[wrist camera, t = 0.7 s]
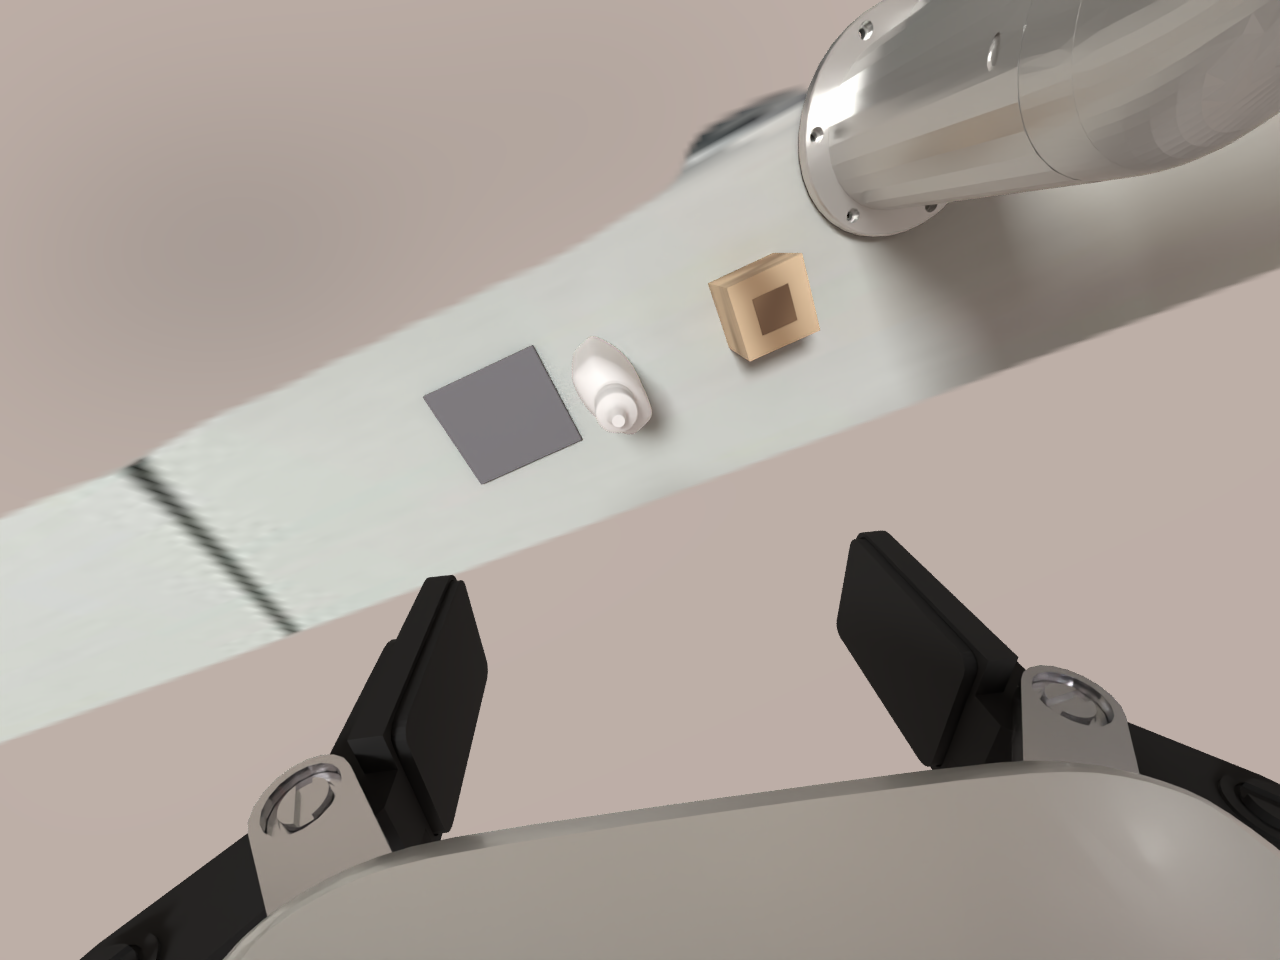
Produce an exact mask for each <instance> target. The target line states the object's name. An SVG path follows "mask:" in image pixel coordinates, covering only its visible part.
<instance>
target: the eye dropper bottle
mask: <svg viewBox="0 0 1280 960" xmlns="http://www.w3.org/2000/svg"><path fill="white" fill-rule="evenodd" d="M572 381H573V384H574V386H575V389H576V391H577V393H578V395H579V397H580V399H581V400H582V402H583V403H584V405H585V406H586V407H587V409H588V410H589V411H590V412H591V413H592V414H593V415H594V416H595V417H596V419H597V421H598V423H599V425H600V426H601V427H602V428H603V429H605V430H607V431H609V432H611V433H612V432H613V433H621V432H622V433H625V434H634V433H636V432H637V431H639V430H640V429H641V428H642V427H643V426H644V425H645V424H646V423H647V422H648V421H649V420H650V418H651V416H652V408H651V405H650V402H649V400H648V397H647V395H646V392H645V390H644V388H643V385H642V383H641V381H640V379H639V377H638V374H637V372H636V371H635V369H634V367H633V366H632V364H631V363H630V361H629V360H628V359H627V358H626V356H625V355H624V354H623V353H622V352H621V351H619V350H618V349H617V348H616V347H614V346H613V345H612V344H610V343H608V342H607V341H605V340H603V339H601V338H598V337H595V336H590V337H588V338H587V339H586V340H585V341H584V342H583V343H582V344H581V345H580V346H579V347H578V348H577V349H576V350H575V352H574V354H573V361H572Z"/></svg>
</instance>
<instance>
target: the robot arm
mask: <svg viewBox="0 0 1280 960" xmlns="http://www.w3.org/2000/svg"><path fill="white" fill-rule="evenodd" d="M859 32H860V33H861V38H860V36H859ZM1279 112H1280V0H883V1H881V2H879V3H878V4H876V5H875V6H873V7H872V8H870V9H869V10H867V11H866V12H864V13H863V14H862V15H861V16H859V17H858V18H857V19H856V20H855V21H854V22H853V23H851V24H850V25H849V26H848V27H847V28H846V29H845V30H844V32H843V33H842V34H841V35H840V36H839V37H838V38H837V39H836V41H835V42H834V43H833V44H832V45H831V47H830V49H829V50H828V51H827V53H826V55H825V56H824V58H823V59H822V61H821V62H820V64H819V66H818V68H817V70H816V72H815V75H814V77H813V79H812V81H811V83H810V86H809V88H808V91H807V95H806V98H805V102H804V105H803V109H802V114H801V121H800V129H799V159H800V164H801V170H802V176H803V179H804V182H805V184H806V187H807V190H808V192H809V195H810V197H811V198H812V200H813V202H814V203H815V205H816V206H817V208H818V210H819V211H820V212H821V213H822V214H823V215H824V216H825V217H826V218H827V219H828V220H829V221H830V222H831V223H833V224H834V225H836V226H837V227H839V228H841V229H842V230H844V231H847V232H850V233H853V234H856V235H859V236H871V237H877V236H890V235H894V234H898V233H902V232H906V231H908V230H910V229H912V228H914V227H916V226H919V225H921V224H923V223H924V222H926V221H927V220H929V219H930V218H932V217H933V216H935V215H936V214H937V213H938V212H939V211H941V210H942V209H943V208H944V207H945V206H946V205H947V204H948V203H949V202H954V201H962V200H969V199H976V198H984V197H991V196H999V195H1006V194H1013V193H1021V192H1028V191H1036V190H1043V189H1050V188H1058V187H1065V186H1073V185H1080V184H1087V183H1095V182H1101V181H1108V180H1115V179H1122V178H1129V177H1135V176H1142V175H1147V174H1151V173H1156V172H1160V171H1164V170H1168V169H1171V168H1174V167H1177V166H1180V165H1184V164H1186V163H1189V162H1192V161H1194V160H1197V159H1199V158H1201V157H1204V156H1206V155H1208V154H1210V153H1212V152H1214V151H1217V150H1219V149H1221V148H1223V147H1225V146H1227V145H1229V144H1231V143H1232V142H1234V141H1236V140H1237V139H1239V138H1241V137H1242V136H1244V135H1246V134H1247V133H1249V132H1251V131H1252V130H1254V129H1255V128H1257V127H1258V126H1260V125H1262V124H1263V123H1265V122H1266V121H1268V120H1269V119H1270V118H1272V117H1273V116H1275V115H1276V114H1278V113H1279ZM810 134H813V136H814V140H813V142H812V141H811V140H810ZM925 205H926V206H925ZM848 213H849V219H848V220H847V214H848ZM837 630H838V633H839V636H840V638H841V639H842V641H843V642H844V644H845V645H846V647H847V648H848V650H849V652H850V653H851V655H852V656H853V658H854V659H855V661H856V662H857V664H858V665H859V667H860V669H861V670H862V672H863V673H864V675H865V676H866V678H867V680H868V681H869V682H870V684H871V686H872V687H873V689H874V690H875V692H876V693H877V695H878V697H879V698H880V699H881V701H882V703H883V704H884V706H885V708H886V709H887V711H888V712H889V714H890V715H891V717H892V718H893V720H894V722H895V723H896V725H897V726H898V728H899V729H900V731H901V732H902V734H903V735H904V737H905V739H906V740H907V742H908V743H909V745H910V746H911V748H912V749H913V751H914V753H915V754H916V756H917V757H918V759H919V760H920V761H921V763H923V764H924V765H925V766H927V767H928V766H930V767H931V768H932V770H927V771H919V772H911V773H904V774H896V775H888V776H881V777H873V778H866V779H859V780H851V781H843V782H835V783H828V784H820V785H812V786H805V787H797V788H790V789H783V790H775V791H769V792H761V793H753V794H746V795H740V796H732V797H725V798H717V799H710V800H703V801H695V802H688V803H682V804H674V805H667V806H659V807H653V808H645V809H639V810H631V811H624V812H618V813H611V814H604V815H597V816H590V817H583V818H576V819H569V820H562V821H555V822H548V823H541V824H534V825H528V826H522V827H516V828H510V829H503V830H497V831H491V832H485V833H479V834H472V835H466V836H461V837H454V838H449V839H445V840H441V836H442V833H447V832H449V831H450V829H451V827H452V824H453V821H454V817H455V812H456V808H457V804H458V800H459V795H460V791H461V787H462V783H463V778H464V774H465V770H466V766H467V761H468V757H469V753H470V749H471V744H472V740H473V736H474V732H475V727H476V723H477V719H478V715H479V710H480V706H481V702H482V698H483V693H484V689H485V685H486V681H487V674H488V668H487V661H486V657H485V653H484V650H483V647H482V643H481V639H480V636H479V632H478V629H477V625H476V622H475V618H474V615H473V611H472V607H471V604H470V600H469V597H468V593H467V590H466V586H465V583H464V582H463V581H462V580H460V581H457V580H456V578H455V576H453V575H448V576H438V577H429V578H427V579H426V580H425V582H424V584H423V586H422V588H421V590H420V592H419V594H418V596H417V598H416V600H415V602H414V604H413V606H412V608H411V610H410V612H409V614H408V616H407V618H406V620H405V622H404V624H403V626H402V628H401V631H400V633H399V635H398V637H397V639H394V640H391V641H390V642H388V643H387V645H386V646H385V648H384V649H383V651H382V653H381V655H380V657H379V659H378V661H377V663H376V665H375V667H374V669H373V671H372V673H371V675H370V677H369V678H368V680H367V682H366V684H365V686H364V688H363V690H362V692H361V695H360V696H359V698H358V700H357V702H356V704H355V706H354V708H353V710H352V712H351V714H350V716H349V718H348V720H347V722H346V724H345V726H344V728H343V729H342V732H341V733H340V735H339V738H338V739H337V741H336V743H335V745H334V747H333V749H332V751H331V753H330V755H320V756H316V757H313V758H310V759H307V760H305V761H303V762H301V763H299V764H297V765H295V766H293V767H292V768H290V769H289V770H287V771H286V772H285V773H284V774H282V775H281V776H280V777H278V778H277V779H276V780H275V781H274V782H273V783H272V784H271V785H270V786H269V787H268V788H267V789H266V790H265V791H264V792H263V794H262V795H261V797H260V798H259V800H258V801H257V803H256V804H255V806H254V807H253V810H252V812H251V815H250V818H249V821H248V834H246V835H245V836H243V837H242V838H241V839H239V840H238V841H237V842H235V843H234V844H233V845H231V846H230V847H228V848H227V849H226V850H224V851H223V852H222V853H220V854H219V855H218V856H216V857H215V858H214V859H212V860H211V861H210V862H208V863H207V864H206V865H204V866H203V867H202V868H200V869H199V870H197V871H196V872H195V873H194V874H192V875H191V876H189V877H188V878H187V879H186V880H184V881H183V882H181V883H180V884H179V885H177V886H176V887H174V888H173V889H172V890H170V891H169V892H168V893H166V894H165V895H164V896H162V897H161V898H160V899H158V900H157V901H156V902H154V903H153V904H152V905H150V906H149V907H148V908H146V909H145V910H143V911H142V912H141V913H140V914H138V915H137V916H135V917H134V918H133V919H131V920H130V921H129V922H127V923H126V924H125V925H123V926H122V927H121V928H119V929H118V930H116V931H115V932H114V933H112V934H111V935H110V936H108V937H107V938H106V939H104V940H103V941H102V942H100V943H99V944H98V945H97V946H95V947H94V948H93V949H92V950H91V951H89V952H88V953H87V954H86V955H85V956H84V957H82V958H81V959H80V960H1280V784H1278V783H1276V782H1274V781H1272V780H1270V779H1267V778H1265V777H1263V776H1261V775H1259V774H1256V773H1254V772H1251V771H1249V770H1246V769H1244V768H1241V767H1239V766H1236V765H1234V764H1231V763H1229V762H1226V761H1224V760H1221V759H1219V758H1216V757H1214V756H1211V755H1209V754H1206V753H1204V752H1201V751H1199V750H1196V749H1193V748H1191V747H1189V746H1186V745H1184V744H1181V743H1178V742H1176V741H1174V740H1171V739H1169V738H1166V737H1164V736H1161V735H1158V734H1156V733H1154V732H1151V731H1149V730H1146V729H1144V728H1141V727H1139V726H1136V725H1134V724H1131V723H1128V722H1127V719H1126V716H1125V714H1124V712H1123V709H1122V707H1121V706H1120V704H1119V703H1118V702H1117V701H1116V700H1115V699H1114V698H1113V697H1112V695H1110V694H1109V693H1108V692H1107V691H1105V690H1104V689H1103V688H1102V687H1100V686H1099V685H1098V684H1096V683H1094V682H1092V681H1091V680H1089V679H1087V678H1085V677H1084V676H1081V675H1079V674H1076V673H1074V672H1072V671H1069V670H1066V669H1062V668H1058V667H1054V666H1042V665H1039V666H1035V667H1030V668H1028V669H1027V670H1025V669H1024V668H1023V667H1022V666H1021V665H1020V664H1019V663H1018V662H1017V659H1018V656H1017V655H1016V654H1014V653H1013V652H1012V651H1011V650H1010V649H1009V648H1008V647H1007V646H1006V645H1005V644H1004V643H1003V642H1002V641H1001V640H1000V639H999V638H998V637H997V636H996V635H995V634H993V633H992V632H991V631H990V630H989V629H988V628H987V627H986V626H985V625H984V624H983V623H982V622H981V621H980V620H979V619H978V618H977V617H976V616H975V615H974V614H973V613H972V612H971V611H969V610H968V609H967V608H966V607H965V606H964V605H963V604H962V603H961V602H960V601H959V600H958V599H957V598H956V597H955V596H953V594H952V593H951V592H949V590H948V589H947V588H945V587H944V586H943V585H942V584H941V583H940V582H939V581H938V580H937V579H936V578H935V577H934V576H933V575H932V574H931V573H930V572H929V571H927V569H926V568H924V567H923V566H922V565H921V564H920V563H919V562H918V561H917V560H916V559H915V558H914V557H913V556H912V555H911V554H910V553H909V552H908V551H907V550H906V549H905V548H904V547H903V546H902V545H900V544H899V543H898V542H897V541H896V540H895V539H894V538H893V537H892V536H891V535H890V534H889V533H887V532H886V531H873V532H863V533H860V534H859V535H858V536H857V538H856V539H854V540H852V542H851V544H850V549H849V555H848V560H847V566H846V572H845V577H844V583H843V588H842V594H841V600H840V605H839V611H838V617H837Z"/></svg>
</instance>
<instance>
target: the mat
mask: <svg viewBox="0 0 1280 960" xmlns="http://www.w3.org/2000/svg"><path fill="white" fill-rule="evenodd" d="M423 398H424V400H425V401H426V403H427V404H428V406H429V407H430V409H431V410H432V412H433V413H434V415H435V416H436V418H437V419H438V421H439V422H440V424H441V425H442V427H443V428H444V430H445V431H446V433H447V434H448V436H449V437H450V438H451V440H452V441H453V443H454V444H455V446H456V447H457V449H458V450H459V452H460V453H461V455H462V456H463V458H464V459H465V461H466V462H467V464H468V465H469V467H470V468H471V470H472V471H473V473H474V474H475V476H476V477H477V479H478V480H479V482H480V483H481V484H484V483H486V482H488V481H490V480H493V479H495V478H497V477H499V476H502V475H504V474H506V473H508V472H511V471H513V470H515V469H517V468H519V467H522V466H524V465H526V464H528V463H531V462H533V461H535V460H537V459H540V458H542V457H544V456H546V455H549V454H551V453H553V452H555V451H558V450H560V449H562V448H564V447H566V446H569V445H571V444H573V443H575V442H578V441H580V440H582V438H581V436H580V434H579V432H578V430H577V428H576V426H575V425H574V423H573V421H572V419H571V417H570V415H569V413H568V411H567V409H566V407H565V406H564V404H563V402H562V400H561V398H560V396H559V394H558V392H557V390H556V388H555V387H554V385H553V383H552V381H551V379H550V377H549V375H548V373H547V371H546V369H545V368H544V366H543V364H542V362H541V360H540V358H539V356H538V354H537V352H536V350H535V348H534V347H533V345H532V346H529V347H527V348H525V349H523V350H521V351H519V352H517V353H515V354H512V355H510V356H508V357H506V358H504V359H502V360H500V361H498V362H495V363H493V364H491V365H489V366H487V367H485V368H483V369H481V370H478V371H476V372H474V373H472V374H470V375H468V376H466V377H463V378H461V379H459V380H457V381H455V382H453V383H451V384H449V385H446V386H444V387H442V388H440V389H438V390H436V391H434V392H432V393H429V394H427V395H425V396H424V397H423Z"/></svg>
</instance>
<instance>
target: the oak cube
mask: <svg viewBox="0 0 1280 960" xmlns="http://www.w3.org/2000/svg"><path fill="white" fill-rule="evenodd" d="M708 285H709V288H710V291H711V294H712V297H713V300H714V303H715V306H716V309H717V312H718V315H719V318H720V321H721V324H722V327H723V330H724V333H725V336H726V339H727V343H728V346H729V348H730V349H731V350H733V351H734V352H736V353H737V354H739V355H740V356H742V357H743V358H745V359H746V360H748V361H752V360H755V359H757V358H759V357H761V356H764V355H766V354H768V353H770V352H772V351H775V350H777V349H779V348H781V347H784V346H786V345H788V344H790V343H793V342H795V341H797V340H799V339H802V338H804V337H806V336H808V335H810V334H813V333H815V332H817V331H819V330H820V328H819V323H818V319H817V315H816V310H815V306H814V302H813V298H812V293H811V289H810V285H809V280H808V276H807V272H806V268H805V263H804V259H803V255H802V253H772V254H770V255H768V256H766V257H764V258H762V259H759V260H757V261H755V262H753V263H751V264H749V265H747V266H744V267H742V268H740V269H738V270H736V271H734V272H731V273H729V274H727V275H725V276H723V277H721V278H719V279H716V280H714V281H712V282H710V283H708Z"/></svg>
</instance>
